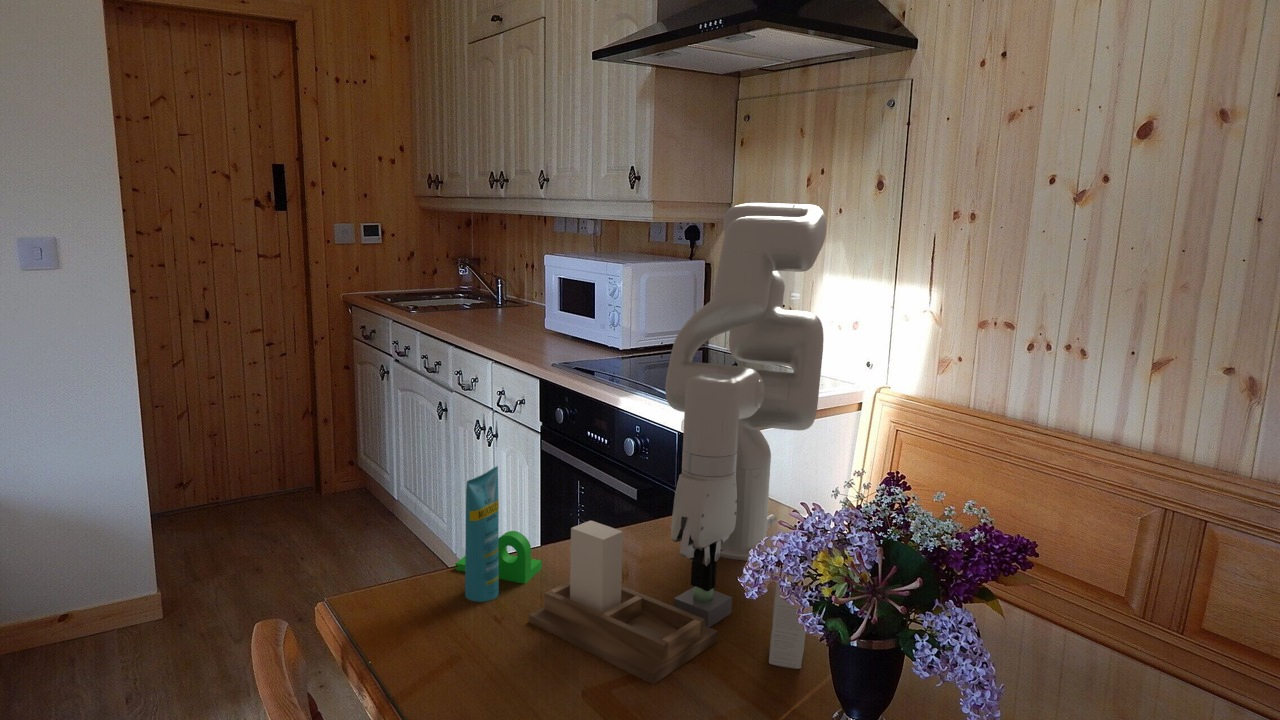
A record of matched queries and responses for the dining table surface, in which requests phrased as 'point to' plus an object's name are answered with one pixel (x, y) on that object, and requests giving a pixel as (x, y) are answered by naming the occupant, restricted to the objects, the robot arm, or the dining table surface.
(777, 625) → the skincare box
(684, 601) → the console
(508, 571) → the mechanical part
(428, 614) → the dining table surface
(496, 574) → the tube
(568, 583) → the wooden compartment tray
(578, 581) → the billet
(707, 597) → the button
